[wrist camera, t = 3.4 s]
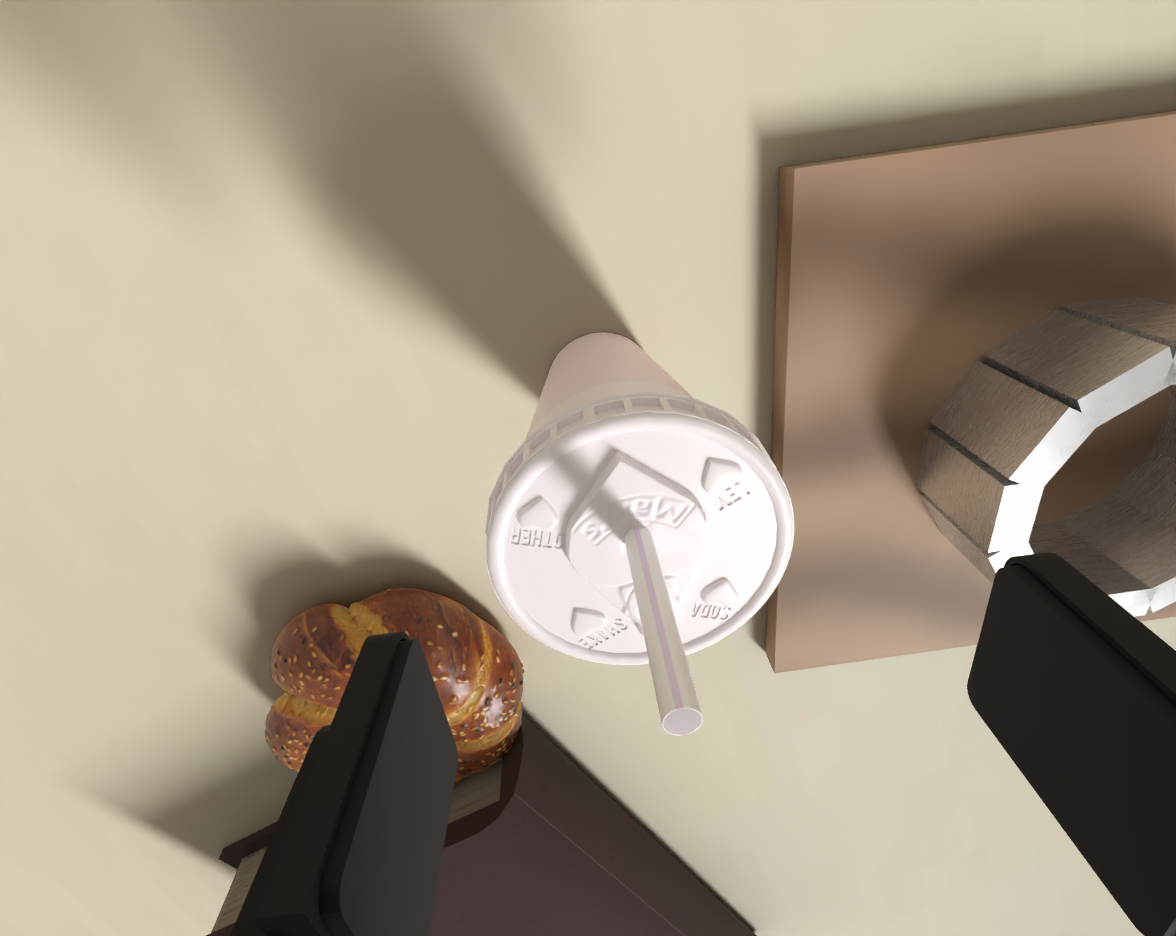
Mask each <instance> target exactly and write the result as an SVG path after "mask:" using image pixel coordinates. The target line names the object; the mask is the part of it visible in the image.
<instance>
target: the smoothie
mask: <svg viewBox="0 0 1176 936" xmlns="http://www.w3.org/2000/svg"><path fill="white" fill-rule="evenodd" d="M486 536H487V537H486V563H487V568H488V573H489V577H490V580H491V583H492V586H493V589H494V591H495V593H496V595H497V597H498V599H499V601H500V602H501V604H502V606H503V607H504V609H505V610H506V611H507V613H508V614H509V615H510V616H511V618H512V619H513V620H514V621H515V622H516V623H517V624H518V625H519V626H520V627H521V628H522V629H524V630H525V631H526V632H527V633H528V634H529V635H531V636H532V637H534V638H535V639H537V640H538V641H540V642H541V643H543V644H545V645H547V646H548V647H550V648H552V649H555V650H557V651H559V652H561V653H564V654H567V655H569V656H572V657H575V658H579V659H583V660H586V661H591V662H597V663H605V664H611V665H641V664H648V663H650V668H651V673H652V678H653V683H654V688H655V693H656V697H657V702H658V707H659V712H660V717H661V722H662V726H663V729H664V730H665V731H666V732H667V733H669V734H672V735H687V734H690V733H693V732H694V731H696V730H697V729H699V727H700V726H701V725H702V722H703V716H702V713H701V709H700V705H699V702H698V698H697V695H696V691H695V687H694V684H693V680H692V677H691V673H690V669H689V666H688V662H687V659H686V655H689V654H692V653H694V652H696V651H698V650H701V649H703V648H705V647H708V646H710V645H712V644H714V643H716V642H718V641H719V640H721V639H723V638H724V637H726V636H728V635H729V634H730V633H732V632H734V631H735V630H737V629H738V628H739V627H740V626H741V625H743V624H744V623H745V622H746V621H748V620H749V619H750V618H751V617H752V616H753V615H754V614H755V613H756V612H757V611H758V610H759V609H760V608H761V607H762V606H763V604H764V603H765V602H766V601H767V600H768V598H769V597H770V596H771V594H772V593H773V592H774V590H775V588H776V587H777V585H778V583H779V582H780V580H781V578H782V576H783V574H784V572H785V569H786V567H787V564H788V561H789V558H790V555H791V550H792V546H793V539H794V515H793V507H792V503H791V499H790V496H789V493H788V490H787V488H786V485H785V483H784V481H783V479H782V478H781V476H780V474H779V472H778V471H777V468H776V466H775V464H774V463H773V461H772V460H771V458H770V456H769V455H768V453H767V452H766V450H765V448H764V447H763V445H762V444H761V442H760V440H759V439H758V437H757V436H755V435H754V434H753V433H752V432H751V431H749V430H748V429H747V428H746V427H745V426H743V425H742V424H741V423H740V422H739V421H738V420H736V419H735V418H734V417H733V416H732V415H730V414H729V413H727V412H725V411H722V410H720V409H718V408H716V407H713V406H711V405H709V404H706V403H704V402H702V401H699V400H697V399H695V398H693V397H692V396H691V395H690V394H689V393H688V392H687V391H686V390H685V389H684V388H683V387H682V386H681V385H680V384H678V383H677V382H676V381H675V380H674V379H673V378H672V377H671V376H670V375H669V374H668V373H667V372H666V371H665V370H664V369H663V368H661V367H660V366H659V365H658V364H657V363H656V362H655V361H654V360H653V359H652V358H651V357H650V356H649V355H648V354H647V353H646V352H644V351H643V350H642V349H641V348H640V347H639V346H638V345H637V344H636V343H634V342H633V341H631V340H630V339H628V338H626V337H624V336H621V335H618V334H614V333H607V332H599V333H592V334H587V335H584V336H581V337H579V338H577V339H575V340H573V341H572V342H570V343H569V344H568V345H566V346H565V347H564V348H563V349H562V350H561V351H560V352H559V353H558V355H557V356H556V358H555V359H554V361H553V363H552V365H551V368H550V370H549V373H548V376H547V379H546V382H545V385H544V388H543V391H542V393H541V396H540V399H539V402H538V405H537V408H536V411H535V414H534V416H533V419H532V422H531V425H530V428H529V431H528V434H527V437H526V440H525V441H524V442H523V444H522V445H521V446H520V447H519V448H518V449H517V451H516V452H515V453H514V454H513V455H512V456H511V458H510V459H509V460H508V461H507V462H506V463H505V465H504V467H503V469H502V471H501V474H500V476H499V478H498V480H497V482H496V485H495V487H494V489H493V491H492V494H491V496H490V498H489V507H488V515H487V524H486Z"/></svg>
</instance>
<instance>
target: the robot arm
mask: <svg viewBox="0 0 1176 936" xmlns="http://www.w3.org/2000/svg"><path fill="white" fill-rule="evenodd" d="M967 689H968V695H969V698H970V700H971V703H972V705H973V706H974V708H975V709H976V711H977V712H978V714H979V715H980V716H981V718H982V719H983V720H984V722H985V723H986V724H987V726H988V727H989V728H990V730H991V731H992V733H993V734H994V735H995V737H996V738H997V739H998V741H999V742H1000V743H1001V745H1002V746H1003V748H1004V749H1005V750H1006V752H1007V753H1008V754H1009V756H1010V757H1011V758H1012V760H1013V761H1014V763H1015V764H1016V765H1017V767H1018V768H1019V769H1020V771H1021V772H1022V773H1023V775H1024V776H1025V778H1026V779H1027V780H1028V782H1029V783H1030V784H1031V786H1032V787H1033V788H1034V790H1035V791H1036V792H1037V794H1038V795H1039V797H1040V798H1041V799H1042V801H1043V802H1044V803H1045V805H1046V806H1047V807H1048V809H1049V810H1050V812H1051V813H1052V814H1053V816H1054V817H1055V818H1056V820H1057V821H1058V822H1059V824H1060V825H1061V827H1062V828H1063V829H1064V831H1065V832H1066V833H1067V835H1068V836H1069V837H1070V839H1071V840H1072V841H1073V843H1074V844H1075V846H1076V847H1077V848H1078V850H1079V851H1080V852H1081V854H1082V855H1083V856H1084V858H1085V859H1086V861H1087V862H1088V863H1089V865H1090V866H1091V867H1092V869H1093V870H1094V871H1095V873H1096V874H1097V876H1098V877H1099V878H1100V880H1101V881H1102V882H1103V884H1104V885H1105V886H1106V888H1107V889H1108V891H1109V892H1110V893H1111V895H1112V896H1113V897H1114V899H1115V900H1116V901H1117V903H1118V904H1119V905H1120V907H1121V908H1122V910H1123V911H1124V912H1125V914H1126V915H1127V916H1128V918H1129V919H1130V920H1131V922H1132V923H1133V924H1134V925H1135V927H1136V928H1137V929H1138V930H1139V931H1140V932H1141V933H1142V934H1143V935H1144V936H1176V651H1175V650H1174V649H1173V648H1172V647H1170V646H1169V645H1168V644H1167V643H1165V642H1164V641H1163V640H1162V639H1161V638H1159V637H1158V636H1157V635H1156V634H1154V633H1153V632H1152V631H1151V630H1150V629H1148V628H1147V627H1146V626H1145V625H1144V624H1142V623H1141V622H1140V621H1139V620H1137V619H1136V618H1135V617H1134V616H1133V615H1131V614H1130V613H1129V612H1128V611H1127V610H1125V609H1124V608H1123V607H1122V606H1120V605H1119V604H1118V603H1117V602H1116V601H1114V600H1113V599H1112V598H1111V597H1109V596H1108V595H1107V594H1106V593H1105V592H1103V591H1102V590H1101V589H1100V588H1099V587H1097V586H1096V585H1095V584H1094V583H1092V582H1091V581H1090V580H1089V579H1088V578H1086V577H1085V576H1084V575H1083V574H1082V573H1080V572H1079V571H1078V570H1077V569H1075V568H1074V567H1073V566H1072V565H1071V564H1069V563H1068V562H1067V561H1066V560H1064V559H1063V558H1062V557H1060V556H1059V555H1057V554H1055V553H1051V552H1046V553H1038V554H1030V555H1022V556H1014V557H1010V558H1009V559H1008V560H1007V561H1006V562H1005V564H1004V567H1002V568H999V569H998V570H997V572H996V574H995V578H994V582H993V586H992V589H991V593H990V597H989V601H988V605H987V609H986V613H985V617H984V621H983V625H982V629H981V632H980V636H979V640H978V644H977V648H976V652H975V656H974V660H973V664H972V668H971V671H970V675H969V679H968V684H967ZM457 761H458V756H457V747H456V743H455V740H454V737H453V734H452V731H451V729H450V726H449V723H448V720H447V717H446V714H445V712H444V709H443V706H442V703H441V700H440V697H439V695H438V692H437V689H436V686H435V683H434V680H433V678H432V675H431V672H430V669H429V666H428V663H427V661H426V658H425V655H424V652H423V649H422V646H421V644H420V642H419V640H418V639H411V640H410V639H409V637H408V635H407V634H406V633H405V632H394V633H386V634H377V635H369V636H368V637H367V638H366V639H365V641H364V643H363V645H362V648H361V651H360V653H359V656H358V658H357V661H356V663H355V666H354V668H353V671H352V673H351V676H350V678H349V681H348V683H347V686H346V688H345V691H344V693H343V696H342V698H341V701H340V703H339V706H338V708H337V711H336V713H335V716H334V718H333V721H332V723H331V725H326V726H323V727H322V728H321V729H320V730H319V731H318V732H317V733H316V735H315V736H314V738H313V740H312V742H311V744H310V746H309V749H308V751H307V754H306V756H305V758H304V761H303V763H302V766H301V768H300V770H299V773H298V775H297V777H296V780H295V782H294V785H293V787H292V789H291V792H290V794H289V796H288V799H287V801H286V804H285V806H284V808H283V811H282V813H281V815H280V818H279V820H278V823H277V825H276V827H275V830H274V832H273V835H272V837H271V839H270V842H269V844H268V846H267V849H266V851H265V854H264V856H263V858H262V861H261V863H260V865H259V868H258V870H257V873H256V875H255V877H254V880H253V882H252V884H251V887H250V889H249V892H248V894H247V896H246V899H245V901H244V903H243V906H242V908H241V911H240V913H239V915H238V918H237V920H236V923H235V925H234V927H233V930H232V932H231V934H230V936H429V931H430V925H431V919H432V913H433V907H434V901H435V895H436V889H437V884H438V878H439V872H440V866H441V860H442V854H443V848H444V842H445V836H446V830H447V824H448V818H449V812H450V806H451V801H452V795H453V789H454V783H455V777H456V771H457Z"/></svg>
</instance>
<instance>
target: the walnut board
mask: <svg viewBox="0 0 1176 936" xmlns="http://www.w3.org/2000/svg"><path fill="white" fill-rule="evenodd" d="M1134 295H1138V296H1142V297H1143V296H1145V297H1149V298H1153V299H1157V300H1161V301H1164V302H1168V303H1172V304H1176V111H1169V112H1162V113H1155V114H1148V115H1141V116H1134V117H1127V118H1120V119H1113V120H1106V121H1099V122H1092V123H1085V124H1078V125H1071V126H1064V127H1057V128H1050V129H1043V130H1036V131H1029V132H1022V133H1015V134H1008V135H1000V136H993V137H986V138H979V139H972V140H965V141H958V142H951V143H944V144H937V145H930V146H923V147H916V148H909V149H902V150H895V151H888V152H881V153H874V154H867V155H860V156H853V157H846V158H839V159H832V160H825V161H818V162H811V163H804V164H797V165H790V166H783V167H780V171H779V205H778V240H777V275H776V309H775V344H774V378H773V413H772V448H771V460H772V461H773V463H774V464H775V466H776V468H777V471H778V472H779V474H780V476H781V478H782V479H783V481H784V483H785V485H786V488H787V490H788V493H789V496H790V499H791V503H792V507H793V515H794V539H793V546H792V550H791V555H790V558H789V561H788V564H787V567H786V569H785V572H784V574H783V576H782V578H781V580H780V582H779V583H778V585H777V587H776V588H775V590H774V592H773V593H772V594H771V596H770V597H769V598H768V600H767V621H766V655H767V657H768V659H769V662H770V664H771V666H772V669H773V671H774V673H779V672H786V671H793V670H801V669H808V668H815V667H822V666H829V665H836V664H843V663H850V662H857V661H864V660H871V659H878V658H885V657H893V656H900V655H907V654H914V653H921V652H928V651H935V650H942V649H949V648H956V647H963V646H970V645H977V644H978V640H979V636H980V632H981V629H982V625H983V621H984V617H985V613H986V609H987V605H988V601H989V597H990V593H991V589H992V586H993V584H992V583H991V582H990V581H989V580H988V579H987V578H986V577H985V576H984V575H983V574H982V573H981V572H980V571H979V570H978V569H977V568H976V567H975V566H974V565H973V564H972V563H971V562H970V561H969V560H968V559H967V558H966V557H965V556H964V555H963V554H962V553H961V552H960V551H959V550H957V549H956V548H955V547H954V546H953V545H952V544H951V543H950V542H949V541H948V540H947V539H946V538H945V537H944V536H943V535H942V534H941V533H940V531H939V529H938V527H937V525H936V524H935V522H934V520H933V518H932V516H931V515H930V513H929V511H928V509H927V507H926V506H925V504H924V502H923V500H922V499H921V497H920V495H919V493H918V492H919V491H920V489H919V488H918V487H917V484H918V478H919V472H920V467H921V461H922V455H923V449H924V443H925V437H926V431H927V428H932V427H936V426H935V425H933V424H932V423H931V422H930V421H931V420H932V418H933V417H934V416H935V414H936V413H937V411H938V410H939V409H940V407H941V406H942V405H943V403H944V402H945V401H946V399H947V398H948V397H949V395H950V394H951V392H952V391H953V390H954V388H955V387H956V386H957V384H958V383H959V382H960V380H961V379H962V378H963V376H964V375H965V374H966V372H967V371H968V369H969V368H970V367H971V365H972V364H973V363H974V361H975V360H977V361H979V362H981V363H984V364H986V363H985V360H984V358H983V356H982V354H983V353H984V352H986V351H987V350H989V349H991V348H992V347H994V346H995V345H997V344H999V343H1000V342H1002V341H1003V340H1005V339H1007V338H1008V337H1010V336H1011V335H1013V334H1015V333H1016V332H1018V331H1019V330H1021V329H1022V328H1024V327H1026V326H1027V325H1029V324H1030V323H1032V322H1034V321H1035V320H1037V319H1038V318H1040V317H1042V316H1043V315H1045V314H1046V313H1048V312H1049V311H1051V310H1053V309H1056V310H1059V311H1060V310H1061V307H1062V306H1063V305H1070V304H1077V303H1084V302H1091V301H1098V300H1105V299H1112V298H1120V297H1127V296H1134ZM1171 401H1172V395H1171V391H1170V387H1169V386H1168V387H1166V388H1165V389H1163V390H1161V391H1159V392H1158V393H1156V394H1154V395H1152V396H1151V397H1149V398H1147V399H1145V400H1144V401H1142V402H1140V403H1138V404H1137V405H1135V406H1133V407H1131V408H1130V409H1128V410H1126V411H1124V412H1123V413H1121V414H1119V415H1117V416H1116V417H1114V418H1112V419H1110V420H1108V421H1107V422H1105V423H1103V424H1101V425H1100V426H1098V427H1096V428H1095V429H1094V430H1093V431H1092V433H1091V434H1090V435H1089V436H1088V437H1087V438H1086V439H1085V441H1084V442H1083V443H1082V444H1081V445H1080V446H1079V447H1078V448H1077V450H1076V451H1075V452H1074V453H1073V454H1072V455H1071V456H1070V458H1069V459H1068V460H1067V461H1066V462H1065V463H1064V464H1063V466H1062V467H1061V468H1060V469H1059V470H1058V471H1057V472H1056V474H1055V475H1054V476H1053V477H1052V478H1051V479H1050V480H1049V481H1048V483H1047V484H1046V485H1045V486H1044V489H1043V492H1042V496H1041V499H1040V503H1039V506H1038V510H1037V513H1036V516H1035V520H1034V523H1033V525H1035V524H1042V523H1050V522H1057V521H1061V520H1062V519H1064V518H1066V517H1068V516H1070V515H1072V514H1074V513H1075V512H1077V511H1079V510H1081V509H1083V508H1085V507H1086V506H1088V505H1090V504H1092V503H1094V502H1096V501H1098V500H1099V499H1101V498H1103V497H1105V496H1107V495H1109V494H1111V493H1112V492H1113V491H1114V490H1115V489H1116V488H1117V487H1118V486H1119V485H1120V484H1121V482H1122V481H1123V480H1124V479H1125V478H1126V477H1127V476H1128V475H1129V474H1130V473H1131V472H1132V471H1133V470H1134V469H1135V468H1136V467H1137V466H1138V464H1139V463H1140V462H1141V461H1142V460H1143V459H1144V458H1145V457H1146V456H1147V455H1148V454H1149V453H1150V452H1151V451H1152V450H1153V448H1154V445H1155V443H1156V440H1157V438H1158V435H1159V432H1160V430H1161V427H1162V424H1163V422H1164V419H1165V417H1166V414H1167V411H1168V409H1169V406H1170V403H1171ZM1175 616H1176V602H1174V603H1172V604H1170V605H1168V606H1166V607H1164V608H1161V609H1159V610H1157V611H1155V612H1151V611H1150V610H1149V609H1148V610H1147V612H1146V615H1142V616H1135V618H1136V619H1137V620H1139V621H1147V620H1154V619H1161V618H1168V617H1175Z"/></svg>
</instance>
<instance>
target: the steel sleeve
mask: <svg viewBox="0 0 1176 936" xmlns="http://www.w3.org/2000/svg"><path fill="white" fill-rule="evenodd" d="M982 356H983V358H984V360H985V363H986V364H984V363H981V362H979V361H977V360H975V361H974V363H973V364H972V365H971V367H970V368H969V369H968V371H967V372H966V374H965V375H964V376H963V378H962V379H961V380H960V382H959V383H958V384H957V386H956V387H955V388H954V390H953V391H952V392H951V394H950V395H949V397H948V398H947V399H946V401H945V402H944V403H943V405H942V406H941V407H940V409H939V410H938V411H937V413H936V414H935V416H934V417H933V418H932V420H931V421H930V422H931V423H932V424H933V425H935V426H936V427H932V428H927V431H926V437H925V443H924V449H923V455H922V461H921V467H920V472H919V478H918V484H917V487H918V488H919V489H920V491H919V492H918V493H919V495H920V497H921V499H922V500H923V502H924V504H925V506H926V507H927V509H928V511H929V513H930V515H931V516H932V518H933V520H934V522H935V524H936V525H937V527H938V529H939V531H940V533H941V534H942V535H943V536H944V537H945V538H946V539H947V540H948V541H949V542H950V543H951V544H952V545H953V546H954V547H955V548H956V549H957V550H959V551H960V552H961V553H962V554H963V555H964V556H965V557H966V558H967V559H968V560H969V561H970V562H971V563H972V564H973V565H974V566H975V567H976V568H977V569H978V570H979V571H980V572H981V573H982V574H983V575H984V576H985V577H986V578H987V579H988V580H989V581H990V582H991V583H992V584H993V582H994V578H995V574H996V572H997V570H998V569H999V568H1002V567H1004V564H1005V562H1006V561H1007V560H1008V559H1009V558H1010V557H1014V556H1022V555H1030V554H1038V553H1046V552H1051V553H1055V554H1057V555H1059V556H1060V557H1062V558H1063V559H1064V560H1066V561H1067V562H1068V563H1069V564H1071V565H1072V566H1073V567H1074V568H1075V569H1077V570H1078V571H1079V572H1080V573H1082V574H1083V575H1084V576H1085V577H1086V578H1088V579H1089V580H1090V581H1091V582H1092V583H1094V584H1095V585H1096V586H1097V587H1099V588H1100V589H1101V590H1102V591H1103V592H1105V593H1106V594H1107V595H1108V596H1109V597H1111V598H1112V599H1113V600H1114V601H1116V602H1117V603H1118V604H1119V605H1120V606H1122V607H1123V608H1124V609H1125V610H1127V611H1128V612H1129V613H1130V614H1131V615H1133V616H1134V617H1135V616H1142V615H1146V612H1147V610H1148V609H1149V610H1150V611H1151V612H1155V611H1157V610H1159V609H1161V608H1164V607H1166V606H1168V605H1170V604H1172V603H1174V602H1176V304H1172V303H1168V302H1164V301H1161V300H1157V299H1153V298H1149V297H1145V296H1143V297H1142V296H1138V295H1134V296H1127V297H1120V298H1112V299H1105V300H1098V301H1091V302H1084V303H1077V304H1070V305H1063V306H1062V307H1061V310H1060V311H1059V310H1056V309H1053V310H1051V311H1049V312H1048V313H1046V314H1045V315H1043V316H1042V317H1040V318H1038V319H1037V320H1035V321H1034V322H1032V323H1030V324H1029V325H1027V326H1026V327H1024V328H1022V329H1021V330H1019V331H1018V332H1016V333H1015V334H1013V335H1011V336H1010V337H1008V338H1007V339H1005V340H1003V341H1002V342H1000V343H999V344H997V345H995V346H994V347H992V348H991V349H989V350H987V351H986V352H984V353H983V354H982ZM1168 386H1169V387H1170V391H1171V395H1172V401H1171V403H1170V406H1169V409H1168V411H1167V414H1166V417H1165V419H1164V422H1163V424H1162V427H1161V430H1160V432H1159V435H1158V438H1157V440H1156V443H1155V445H1154V448H1153V450H1152V451H1151V452H1150V453H1149V454H1148V455H1147V456H1146V457H1145V458H1144V459H1143V460H1142V461H1141V462H1140V463H1139V464H1138V466H1137V467H1136V468H1135V469H1134V470H1133V471H1132V472H1131V473H1130V474H1129V475H1128V476H1127V477H1126V478H1125V479H1124V480H1123V481H1122V482H1121V484H1120V485H1119V486H1118V487H1117V488H1116V489H1115V490H1114V491H1113V492H1112V493H1111V494H1109V495H1107V496H1105V497H1103V498H1101V499H1099V500H1098V501H1096V502H1094V503H1092V504H1090V505H1088V506H1086V507H1085V508H1083V509H1081V510H1079V511H1077V512H1075V513H1074V514H1072V515H1070V516H1068V517H1066V518H1064V519H1062V520H1061V521H1057V522H1050V523H1042V524H1035V525H1033V523H1034V520H1035V516H1036V513H1037V510H1038V506H1039V503H1040V499H1041V496H1042V492H1043V489H1044V486H1045V485H1046V484H1047V483H1048V481H1049V480H1050V479H1051V478H1052V477H1053V476H1054V475H1055V474H1056V472H1057V471H1058V470H1059V469H1060V468H1061V467H1062V466H1063V464H1064V463H1065V462H1066V461H1067V460H1068V459H1069V458H1070V456H1071V455H1072V454H1073V453H1074V452H1075V451H1076V450H1077V448H1078V447H1079V446H1080V445H1081V444H1082V443H1083V442H1084V441H1085V439H1086V438H1087V437H1088V436H1089V435H1090V434H1091V433H1092V431H1093V430H1094V429H1095V428H1096V427H1098V426H1100V425H1101V424H1103V423H1105V422H1107V421H1108V420H1110V419H1112V418H1114V417H1116V416H1117V415H1119V414H1121V413H1123V412H1124V411H1126V410H1128V409H1130V408H1131V407H1133V406H1135V405H1137V404H1138V403H1140V402H1142V401H1144V400H1145V399H1147V398H1149V397H1151V396H1152V395H1154V394H1156V393H1158V392H1159V391H1161V390H1163V389H1165V388H1166V387H1168Z"/></svg>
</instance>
